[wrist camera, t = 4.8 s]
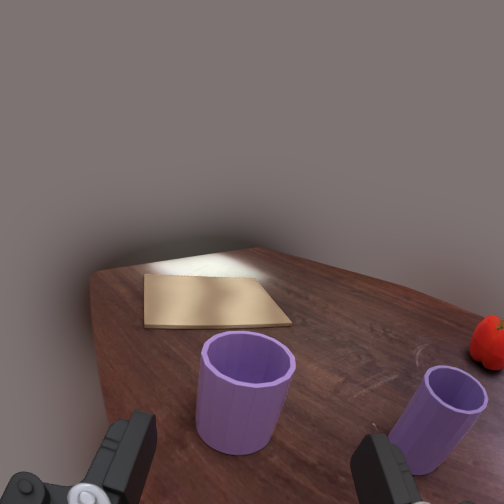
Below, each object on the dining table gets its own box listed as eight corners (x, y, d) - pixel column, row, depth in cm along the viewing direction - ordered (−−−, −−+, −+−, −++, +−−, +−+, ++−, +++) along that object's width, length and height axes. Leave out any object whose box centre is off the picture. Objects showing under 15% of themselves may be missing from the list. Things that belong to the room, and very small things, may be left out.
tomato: (464, 344, 40) (480, 305, 38) (501, 358, 35) (519, 321, 33) (463, 368, 33) (485, 324, 31) (506, 384, 28) (529, 342, 26)
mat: (144, 328, 34) (144, 324, 34) (144, 276, 48) (144, 273, 48) (291, 326, 41) (292, 322, 41) (254, 280, 55) (254, 278, 55)
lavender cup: (205, 460, 18) (213, 391, 16) (189, 402, 24) (194, 331, 22) (284, 447, 20) (311, 379, 18) (257, 397, 26) (274, 329, 24)
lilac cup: (411, 486, 16) (464, 424, 13) (372, 439, 21) (410, 375, 19) (452, 456, 18) (498, 396, 16) (415, 419, 24) (450, 359, 22)
